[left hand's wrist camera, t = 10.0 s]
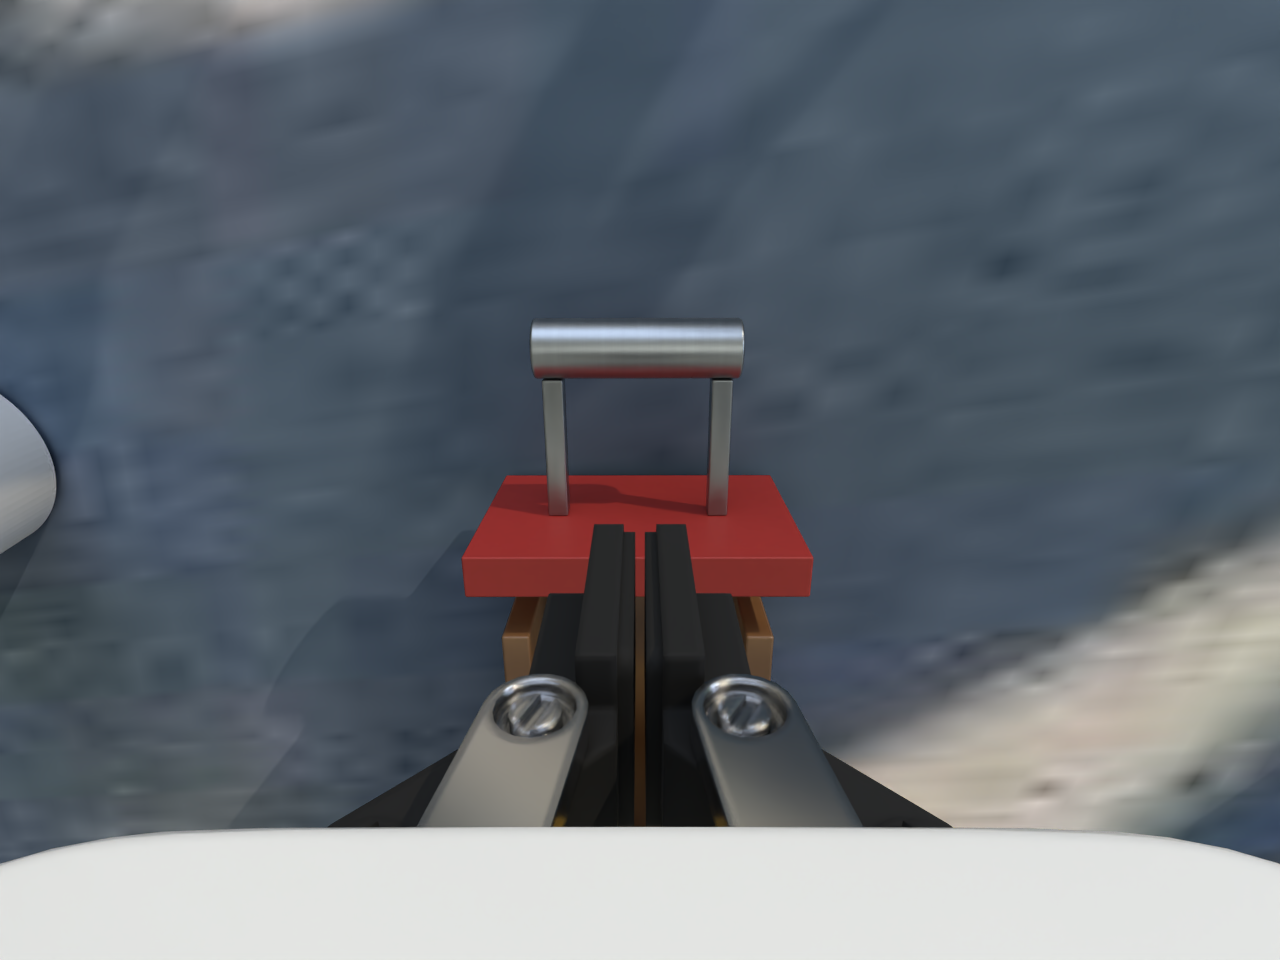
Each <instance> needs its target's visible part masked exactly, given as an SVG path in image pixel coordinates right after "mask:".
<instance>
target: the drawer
mask: <svg viewBox="0 0 1280 960" xmlns="http://www.w3.org/2000/svg"><path fill="white" fill-rule="evenodd" d="M744 352H745V335H744V325H743V322H742V319H740V318H535V319H533V321H532V323H531V328H530V360H531V367H532V372H533V375H534V377H535V378H537V379H543V378H544V379H543V380H542V396H543V415H544V434H545V453H546V472H547V476H506V478H505V479H504V481H503V483H502V485H501V487H500V489H499V490H498V492H497V494H496V496H495V498H494V500H493V501H492V503H491V505H490V507H489V509H488V511H487V512H486V514H485V516H484V518H483V520H482V522H481V523H480V525H479V527H478V529H477V531H476V533H475V534H474V536H473V538H472V540H471V542H470V544H469V545H468V547H467V549H466V551H465V553H464V555H463V556H462V569H463V578H464V588H465V596H466V597H515V600H514V603H513V606H512V609H511V612H510V615H509V618H508V621H507V624H506V627H505V630H504V633H503V635H502V648H503V660H504V671H505V683H506V682H508V681H510V680H513V679H515V678H517V677H521V676H526V675H529V672H530V668H531V664H532V660H533V656H534V651H535V647H536V643H537V639H538V635H539V631H540V626H541V622H542V618H543V614H544V610H545V606H546V601H547V598H548V595H549V594H550V593H584V589H585V582H586V575H587V569H588V562H589V555H590V548H591V541H592V535H593V528H594V524H624V532H635V605H636V685H635V790H634V826H620V827H660V826H646V790H645V685H644V605H645V532H656V524H686V528H687V535H688V541H689V548H690V555H691V562H692V569H693V575H694V582H695V589H696V593H730V594H731V595H732V598H733V601H734V606H735V610H736V614H737V618H738V622H739V626H740V631H741V635H742V639H743V643H744V647H745V651H746V656H747V660H748V664H749V668H750V672H751V675H754V676H759V677H763V678H765V679H767V680H770V679H771V666H772V654H773V641H774V637H773V634H772V631H771V628H770V625H769V622H768V619H767V616H766V612H765V609H764V606H763V603H762V600H761V597H808V596H810V588H811V578H812V568H813V556H812V554H811V553H810V551H809V549H808V547H807V545H806V543H805V541H804V539H803V537H802V535H801V533H800V532H799V530H798V528H797V526H796V524H795V522H794V520H793V518H792V516H791V514H790V512H789V511H788V509H787V507H786V505H785V503H784V501H783V499H782V497H781V495H780V493H779V491H778V490H777V488H776V486H775V484H774V482H773V480H772V478H771V476H770V475H729V459H730V438H731V416H732V395H733V380H732V378H739V377H740V376H741V374H742V370H743V364H744ZM565 378H710V399H709V428H708V457H707V475H600V476H569V471H568V446H567V422H566V397H565Z"/></svg>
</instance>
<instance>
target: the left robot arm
mask: <svg viewBox="0 0 1280 960" xmlns="http://www.w3.org/2000/svg"><path fill="white" fill-rule="evenodd" d="M635 685H636V605H635V532H624V524H594V528H593V535H592V541H591V548H590V555H589V562H588V569H587V575H586V582H585V589H584V593H550V594H549V595H548V598H547V601H546V606H545V610H544V614H543V618H542V622H541V626H540V631H539V635H538V639H537V643H536V647H535V651H534V656H533V660H532V664H531V668H530V672H529V675H526V676H521V677H517V678H515V679H513V680H510V681H508V682H506V683H504V684H502V685H501V686H499V687H498V688H497V689H495V690H494V691H492V693H491V694H490V695H489V696H488V698H487V699H486V700H485V701H484V703H483V705H482V707H481V709H480V710H479V712H478V714H477V716H476V718H475V720H474V722H473V723H472V725H471V727H470V729H469V731H468V733H467V735H466V736H465V738H464V740H463V742H462V744H461V746H460V747H459V749H458V750H456V751H454V752H453V753H451V754H449V755H448V756H446V757H444V758H443V759H441V760H439V761H438V762H436V763H434V764H432V765H431V766H429V767H427V768H426V769H424V770H422V771H421V772H419V773H417V774H416V775H414V776H412V777H410V778H409V779H407V780H405V781H404V782H402V783H400V784H399V785H397V786H395V787H394V788H392V789H390V790H388V791H387V792H385V793H383V794H382V795H380V796H378V797H377V798H375V799H373V800H372V801H370V802H368V803H366V804H365V805H363V806H361V807H360V808H358V809H356V810H355V811H353V812H351V813H350V814H348V815H346V816H345V817H343V818H341V819H339V820H338V821H336V822H334V823H333V824H331V825H330V826H328V827H327V828H252V829H225V830H198V831H172V832H157V833H148V834H139V835H130V836H121V837H111V838H106V839H101V840H96V841H90V842H85V843H80V844H75V845H70V846H64V847H59V848H54V849H50V850H47V851H43V852H40V853H36V854H33V855H29V856H26V857H22V858H19V859H15V860H12V861H8V862H5V863H1V864H0V960H1280V864H1279V863H1275V862H1272V861H1268V860H1265V859H1261V858H1258V857H1254V856H1251V855H1247V854H1244V853H1240V852H1237V851H1233V850H1230V849H1226V848H1221V847H1216V846H1210V845H1205V844H1200V843H1195V842H1189V841H1184V840H1179V839H1174V838H1169V837H1159V836H1150V835H1141V834H1132V833H1123V832H1108V831H1082V830H1055V829H1028V828H953V827H952V826H950V825H949V824H947V823H946V822H944V821H942V820H941V819H939V818H937V817H935V816H934V815H932V814H930V813H929V812H927V811H925V810H924V809H922V808H920V807H919V806H917V805H915V804H914V803H912V802H910V801H908V800H907V799H905V798H903V797H902V796H900V795H898V794H897V793H895V792H893V791H892V790H890V789H888V788H886V787H885V786H883V785H881V784H880V783H878V782H876V781H875V780H873V779H871V778H870V777H868V776H866V775H864V774H863V773H861V772H859V771H858V770H856V769H854V768H853V767H851V766H849V765H848V764H846V763H844V762H842V761H841V760H839V759H837V758H836V757H834V756H832V755H831V754H829V753H827V752H826V751H824V750H822V749H821V747H820V746H819V744H818V742H817V740H816V738H815V736H814V735H813V733H812V731H811V729H810V727H809V725H808V723H807V722H806V720H805V718H804V716H803V714H802V712H801V710H800V709H799V707H798V705H797V703H796V701H795V700H794V699H793V698H792V696H791V695H790V694H789V693H788V691H786V690H785V689H783V688H782V687H781V686H779V685H778V684H776V683H774V682H772V681H770V680H767V679H765V678H763V677H759V676H754V675H751V672H750V668H749V664H748V660H747V656H746V651H745V647H744V643H743V639H742V635H741V631H740V626H739V622H738V618H737V614H736V610H735V606H734V601H733V598H732V595H731V594H730V593H696V589H695V582H694V575H693V569H692V562H691V555H690V548H689V541H688V535H687V528H686V524H656V532H645V605H644V685H645V790H646V826H660V827H620V826H634V790H635Z"/></svg>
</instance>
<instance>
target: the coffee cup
mask: <svg viewBox="0 0 1280 960" xmlns="http://www.w3.org/2000/svg"><path fill="white" fill-rule="evenodd" d="M55 496H56V475H55V469H54V465H53V462H52V459H51V456H50V453H49V451H48V449H47V447H46V445H45V443H44V441H43V439H42V438H41V436H40V435H39V433H38V431H37V430H36V429H35V427H34V426H33V425H32V424H31V422H30V421H29V420H28V419H27V418H26V417H25V416H24V414H23V413H22V412H21V411H20V410H19V409H17V408H16V407H15V406H14V405H13V404H12V403H11V402H9V401H8V400H7V399H6V398H4V397H3V396H2V395H0V554H1V553H3V552H4V551H6V550H7V549H9V548H10V547H12V546H13V545H15V544H16V543H18V542H20V541H21V540H23V539H24V538H26V537H27V536H29V535H30V534H32V533H33V532H35V531H36V530H37V529H38V528H39V527H40V526H41V525H42V524H43V523H44V522H45V521H46V519H47V518H48V516H49V514H50V512H51V510H52V508H53V505H54V501H55Z"/></svg>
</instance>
